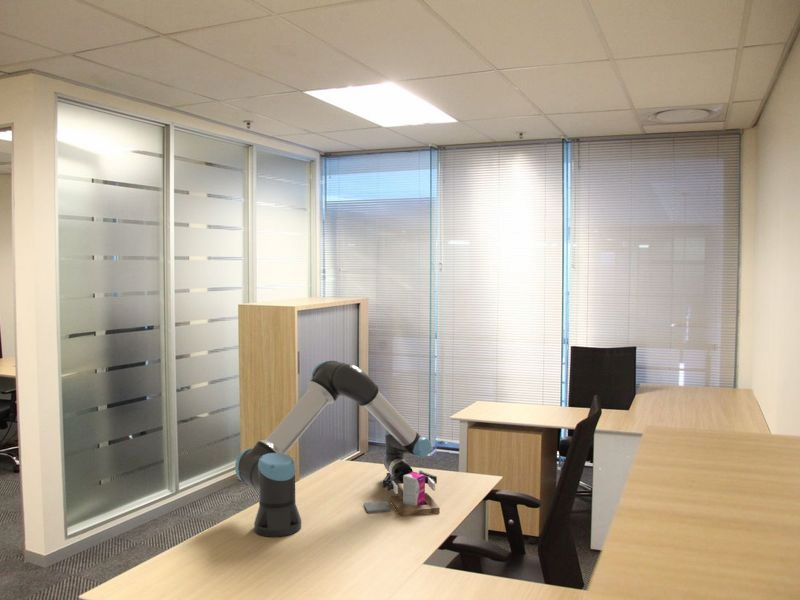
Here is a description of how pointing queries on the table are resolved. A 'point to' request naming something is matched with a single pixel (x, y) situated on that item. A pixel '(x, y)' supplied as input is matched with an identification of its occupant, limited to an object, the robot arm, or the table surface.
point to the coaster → (376, 506)
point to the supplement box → (413, 489)
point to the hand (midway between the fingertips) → (415, 488)
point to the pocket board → (414, 510)
